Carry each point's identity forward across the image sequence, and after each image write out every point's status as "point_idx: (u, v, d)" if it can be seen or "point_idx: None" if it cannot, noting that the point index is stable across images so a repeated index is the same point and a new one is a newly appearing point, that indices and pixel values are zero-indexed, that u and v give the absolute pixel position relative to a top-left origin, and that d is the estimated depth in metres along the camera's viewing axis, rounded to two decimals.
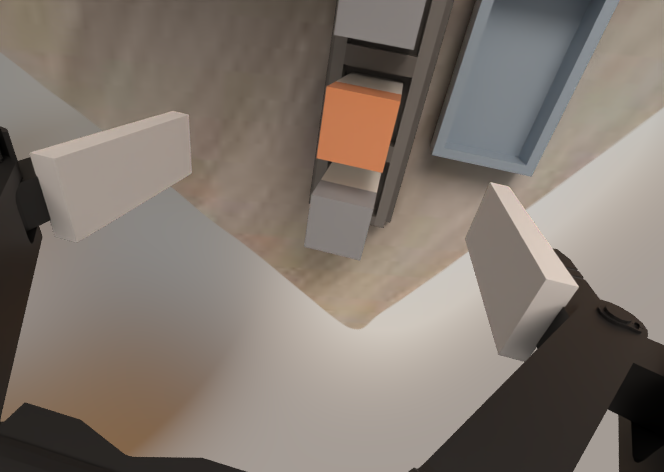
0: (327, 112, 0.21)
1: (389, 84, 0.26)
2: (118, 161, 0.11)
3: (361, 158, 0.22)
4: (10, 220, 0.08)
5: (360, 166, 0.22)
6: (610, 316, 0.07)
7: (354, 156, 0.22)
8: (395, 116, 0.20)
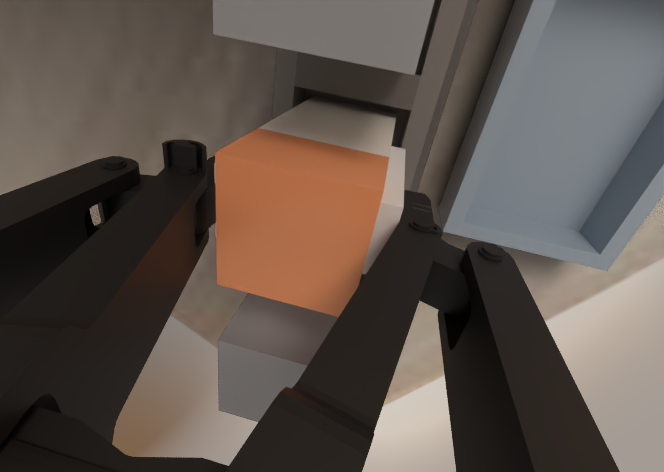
0: (225, 204, 0.10)
1: (370, 124, 0.15)
2: None
3: (305, 292, 0.11)
4: (184, 227, 0.09)
5: (304, 305, 0.11)
6: (417, 226, 0.09)
7: (291, 287, 0.11)
8: (372, 221, 0.09)
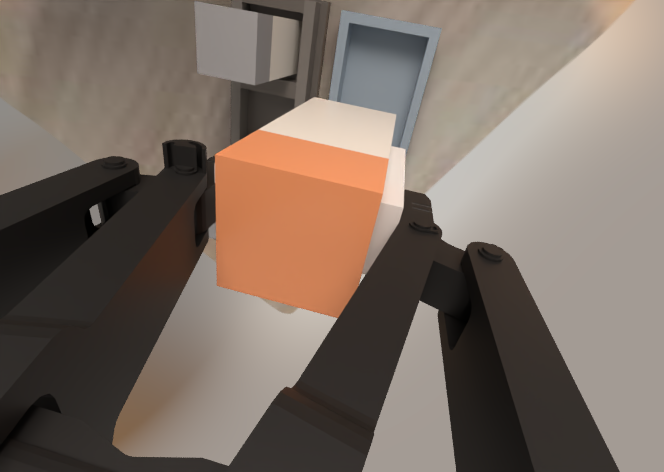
0: (224, 206, 0.10)
1: (370, 125, 0.15)
2: None
3: (304, 293, 0.11)
4: (184, 227, 0.09)
5: (304, 306, 0.11)
6: (417, 226, 0.09)
7: (291, 289, 0.11)
8: (372, 222, 0.09)
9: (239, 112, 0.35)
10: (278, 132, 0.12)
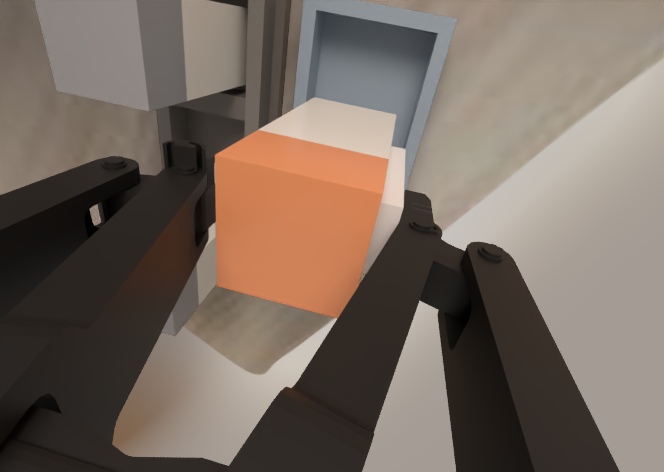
0: (224, 206, 0.10)
1: (370, 125, 0.15)
2: None
3: (304, 294, 0.11)
4: (184, 227, 0.09)
5: (304, 307, 0.11)
6: (417, 227, 0.09)
7: (291, 289, 0.11)
8: (372, 223, 0.09)
9: (170, 137, 0.25)
10: (278, 132, 0.12)
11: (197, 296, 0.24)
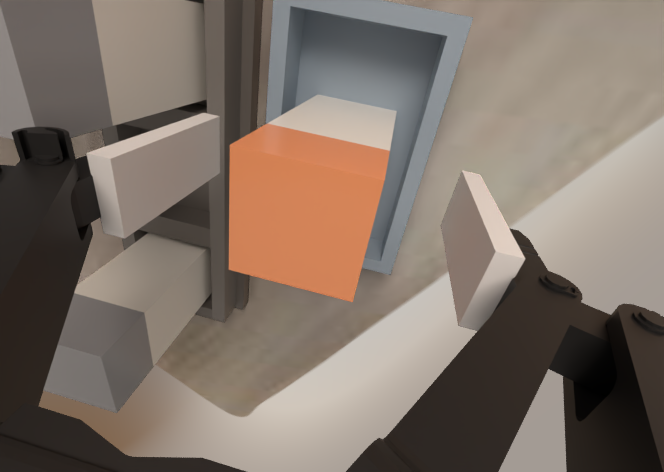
0: (237, 193, 0.10)
1: (372, 120, 0.16)
2: (160, 161, 0.12)
3: (311, 276, 0.11)
4: (63, 218, 0.08)
5: (310, 288, 0.12)
6: (550, 283, 0.08)
7: (299, 271, 0.11)
8: (374, 208, 0.10)
9: None
10: (286, 126, 0.12)
11: (151, 356, 0.20)
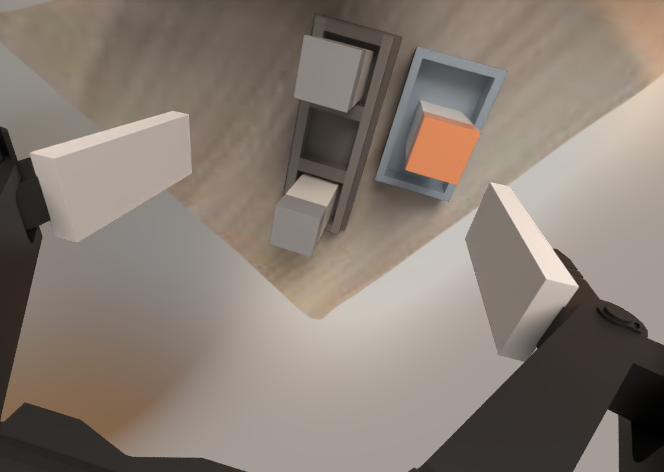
0: (421, 135, 0.27)
1: (456, 114, 0.33)
2: (118, 161, 0.11)
3: (442, 172, 0.28)
4: (10, 220, 0.08)
5: (440, 178, 0.29)
6: (610, 316, 0.07)
7: (437, 170, 0.28)
8: (474, 143, 0.27)
9: (304, 129, 0.38)
10: (430, 112, 0.29)
11: (319, 236, 0.37)
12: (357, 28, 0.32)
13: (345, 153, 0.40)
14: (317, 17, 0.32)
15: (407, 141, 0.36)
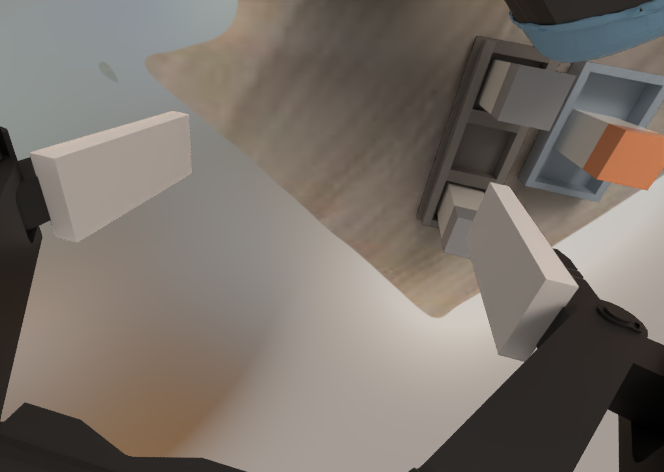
0: (619, 147, 0.30)
1: (623, 122, 0.35)
2: (118, 161, 0.11)
3: (634, 179, 0.31)
4: (10, 220, 0.08)
5: (630, 185, 0.31)
6: (610, 316, 0.07)
7: (629, 178, 0.31)
8: None
9: (459, 143, 0.40)
10: (614, 124, 0.32)
11: None
12: (527, 48, 0.35)
13: (490, 162, 0.42)
14: (488, 40, 0.35)
15: (563, 148, 0.38)
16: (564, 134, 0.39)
